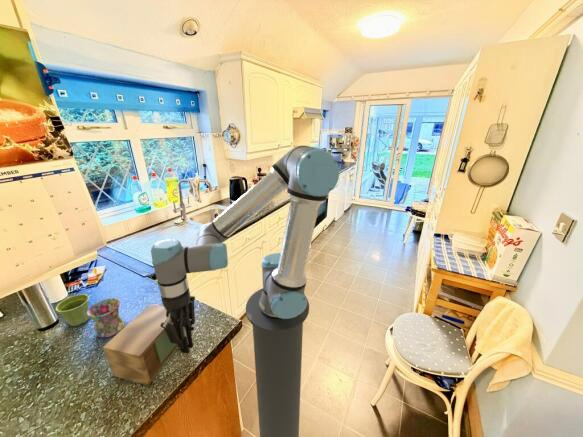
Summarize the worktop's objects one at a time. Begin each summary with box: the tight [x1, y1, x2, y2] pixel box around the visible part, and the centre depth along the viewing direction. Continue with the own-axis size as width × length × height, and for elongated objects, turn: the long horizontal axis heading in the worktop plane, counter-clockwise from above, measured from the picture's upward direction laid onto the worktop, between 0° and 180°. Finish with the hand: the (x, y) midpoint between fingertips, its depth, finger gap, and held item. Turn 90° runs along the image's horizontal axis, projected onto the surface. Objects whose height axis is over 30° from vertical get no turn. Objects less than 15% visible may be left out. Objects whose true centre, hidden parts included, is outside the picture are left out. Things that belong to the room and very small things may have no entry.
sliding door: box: [154, 327, 188, 363], centre depth 74 cm, size 6×7×10 cm
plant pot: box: [55, 293, 91, 327], centre depth 89 cm, size 9×9×9 cm
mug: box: [87, 297, 126, 339], centre depth 83 cm, size 12×9×11 cm
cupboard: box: [102, 303, 179, 386], centre depth 75 cm, size 12×18×12 cm
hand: (187, 349), depth 77 cm, fingers closed on sliding door, 1 cm apart
